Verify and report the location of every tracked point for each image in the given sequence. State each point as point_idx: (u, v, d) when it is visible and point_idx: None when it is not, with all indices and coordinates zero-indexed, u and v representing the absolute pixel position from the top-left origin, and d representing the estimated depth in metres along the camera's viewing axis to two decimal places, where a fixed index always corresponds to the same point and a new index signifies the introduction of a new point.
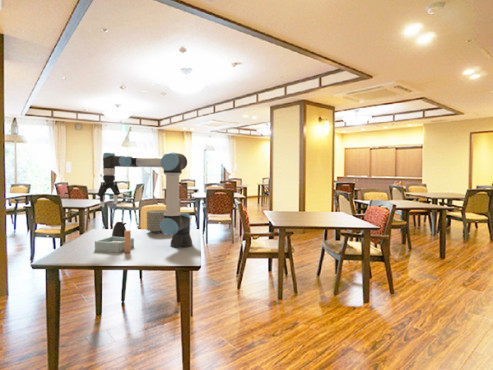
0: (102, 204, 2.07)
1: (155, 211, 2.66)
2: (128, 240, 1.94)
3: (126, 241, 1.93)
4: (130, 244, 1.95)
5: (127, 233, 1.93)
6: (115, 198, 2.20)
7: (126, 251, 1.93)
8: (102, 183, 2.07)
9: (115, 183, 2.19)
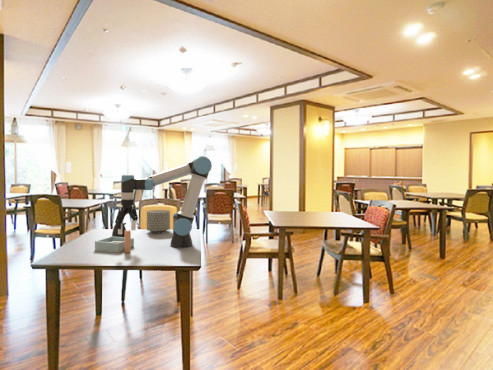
0: (120, 232, 1.87)
1: (155, 211, 2.66)
2: (128, 240, 1.94)
3: (126, 241, 1.93)
4: (130, 244, 1.95)
5: (127, 233, 1.93)
6: (133, 224, 2.01)
7: (126, 251, 1.93)
8: (120, 209, 1.87)
9: (133, 207, 1.99)
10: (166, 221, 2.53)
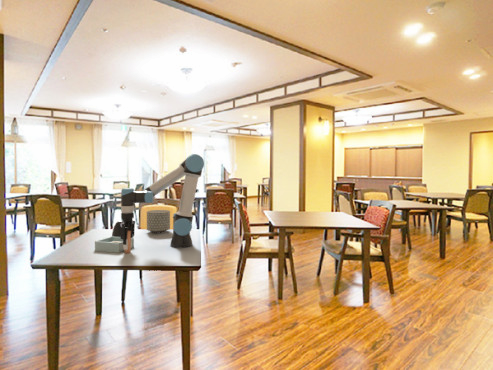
0: (125, 247, 1.93)
1: (155, 211, 2.66)
2: (128, 240, 1.94)
3: None
4: (130, 244, 1.95)
5: (127, 233, 1.93)
6: None
7: (126, 251, 1.93)
8: (121, 225, 1.88)
9: (133, 222, 1.99)
10: (166, 221, 2.53)
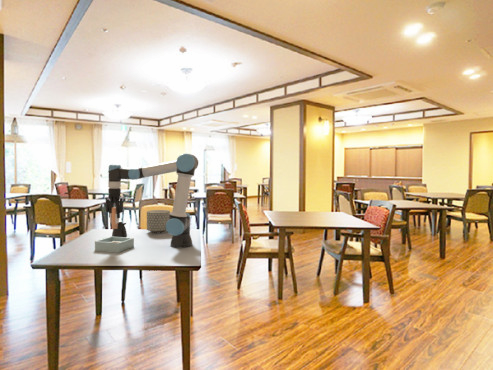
0: None
1: (155, 211, 2.66)
2: None
3: None
4: (113, 221, 2.02)
5: None
6: None
7: None
8: None
9: None
10: (166, 221, 2.53)
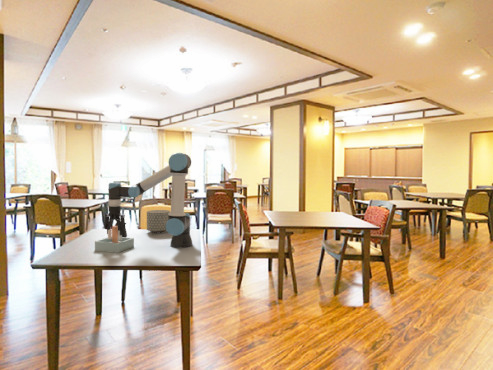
0: None
1: (155, 211, 2.66)
2: (112, 235, 2.03)
3: None
4: (114, 240, 2.02)
5: (112, 228, 2.03)
6: None
7: None
8: None
9: (121, 216, 2.01)
10: (166, 221, 2.53)
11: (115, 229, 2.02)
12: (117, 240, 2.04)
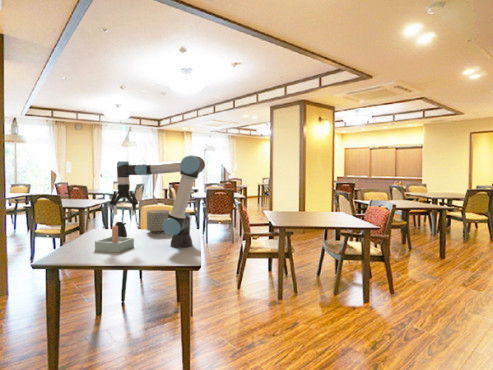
0: None
1: (155, 211, 2.66)
2: (112, 235, 2.03)
3: None
4: (114, 240, 2.02)
5: (112, 228, 2.03)
6: None
7: None
8: None
9: None
10: None
11: (115, 229, 2.03)
12: (117, 240, 2.04)
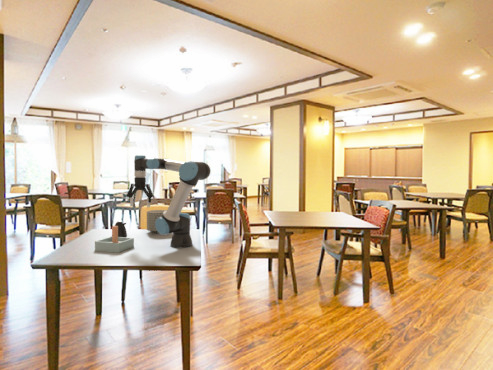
0: None
1: (155, 211, 2.66)
2: (112, 235, 2.03)
3: None
4: (114, 239, 2.02)
5: (112, 228, 2.03)
6: None
7: None
8: None
9: None
10: None
11: (115, 229, 2.03)
12: (117, 240, 2.04)
